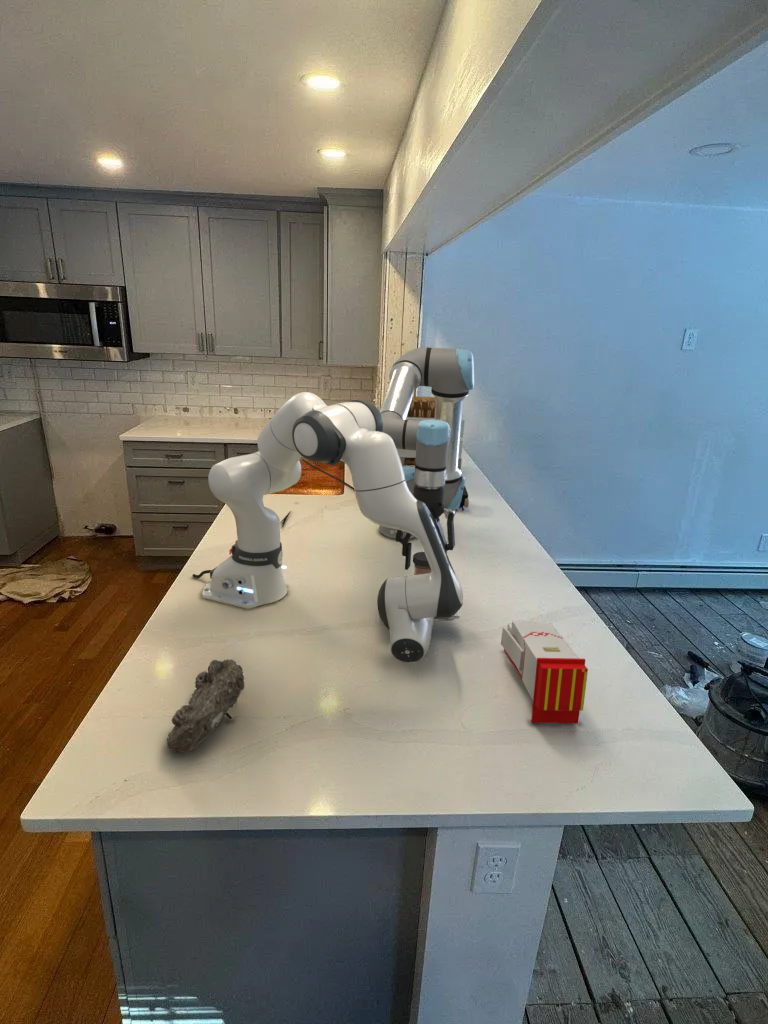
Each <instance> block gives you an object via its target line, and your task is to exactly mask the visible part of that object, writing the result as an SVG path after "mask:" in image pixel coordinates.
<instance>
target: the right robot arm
mask: <svg viewBox="0 0 768 1024" xmlns="http://www.w3.org/2000/svg"><path fill="white" fill-rule="evenodd" d="M474 363H475V361H474V355H473V352H472V351H470V350H468V349H461V348H457V347H456V348H453V347H452V348H451V347H450V348H449V347H428V346H421V347H416V348H412V349H411V350H409V351H407V352H405V353H404V354H402V355H401V356H400V357H399V358H397V359H396V360H395V362H394V363H393V364H392V366H391V368H390V371H389V375H388V378H389V384H388V386H387V389H386V391H385V394H384V396H383V399H382V403H381V404H380V408H379V409H378V410H379V412H380V413H381V416H382V419H383V430H382V432H383V433H386V434H388V435H389V436H390V437H391V438H392V439H393V441H394V444H395V446H396V448H397V449H405V450H416V463H415V466H404V467H403V470H404V475H405V479H406V483H407V486H408V488H409V490H410V492H411V493H412V495H413V496H414V497H415V498H416V499H417V500H418V501H421V502H424V503H425V504H426V506H427V507H428V509H429V511H430V513H431V515H432V517H433V520H434V522H435V525H436V527H437V529H438V532H439V535H440V537H441V540H442V542H443V545H444V548H445V550H446V553H447V554H448V551H453V550H454V548H455V547H456V538H455V537H456V536H455V521H454V520H455V519H454V518H455V515H456V509H457V510H458V509H460V508H459V506H460V502H461V499H462V494H463V489H464V486H466V485H465V484H466V477H465V476H463V474H462V469H461V470H460V469H459V468H458V456H459V444H460V439H461V438H460V432H461V419H463V408H464V407H463V406H464V400H465V398H467V397H468V396H469V394H470V393H469V392H470V391H472V390H473V389H474V388H475V364H474ZM418 387H430V388H431V391H430V392H431V395H432V397H435V398H436V403H435V420H423V421H413V420H406V417H407V414H408V411H409V407H410V404H411V401H412V397H413V396H414V394H415V390H417V388H418ZM302 462H304V463H305V464H307V465H308V466H310V467H312V468H313V469H315V470H317V471H319V472H321V473H323V474H325V475H327V476H329V477H331V478H332V479H335V480H337V481H338V482H340V483H341V484H344V485H345V486H347V487H349V488H350V489H352V490H353V491H354V486H353V485H350V484H349V483H347V482H345V481H344V480H342V479H341V478H338V477H336V476H334V475H332V474H330V473H328V472H326V471H325V470H322V469H320V468H318V467H316V466H315V465H313V464H311V463H310V462H308V460H306V459H305V458H302ZM443 514H444V518H445V519H446V533H447V539H446V536H445V532H444V529H443V526H442V523H441V519H440V517H441V516H442V515H443ZM378 533H379V534H380V535H381V536H382V537H385V538H387V539H389V540H395V542H396V543H400V544H401V556H402V557H404V570H406V571H408V570H409V569H410V567H411V562H412V547H413V545H412V544H413V543H412V542H410V540H415V539H417V538H416V537H415V536H414V535H412V534H410V533H408V532H405V531H402V530H398V529H393V528H388V527H383V526H380V525H379V527H378Z"/></svg>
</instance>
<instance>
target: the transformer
mask: <svg viewBox="0 0 768 1024" xmlns="http://www.w3.org/2000/svg"><path fill="white" fill-rule="evenodd" d="M435 403H436V398H435V397H434V396H415V395H413V397H412V401H411V404H410V407H409V411H408V414H407V417H406V420H413V421H423V420H435ZM464 429H465V419H464V418H462V419H461V432H460V444H459V456H458V468H459V469H460V470H461V471H462V461H463V460H462V453H463V442H464V441H463V440H462V439H463V438H464V431H465V430H464ZM397 451H398V454H399V457H400V460H401V463H402V467H405V466H406V467H415V463H416V450H405V449H397Z"/></svg>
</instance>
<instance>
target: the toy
mask: <svg viewBox="0 0 768 1024" xmlns="http://www.w3.org/2000/svg"><path fill="white" fill-rule="evenodd" d="M500 645H501V646H502V648H503V652H504V654H505V655H506V657H507V658H508V660H509V661H510V663H511V664H512V666H513V668H514V669H515V671H516V672H517V674H518V676H519V677H520V679H521V680H522V683H523V685H524V686H525V688H526V690H527V692H528V694H529V696H530V697H531V699H532V708H531V719H530V722H531V723H532V724H579V719H580V712H583V711H584V706H585V697H586V689H587V680H588V671H589V669H588V667H587V666H586V659H585V658H580V657H579V656H578V655H577V654H576V652H575V651H574V650H573V648H572V647H571V646H570V645H569V644H568V642H567V641H566V640H565V638H564V637H563V636H562V634H561V633H560V632H559V631H558V630H557V628H556V627H555V626H554V624H553V623H552V622H551V621H549V620H548V621H545V620H540V621H539V620H511V622H508V623H507V626H502V632H501V638H500Z"/></svg>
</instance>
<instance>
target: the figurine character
mask: <svg viewBox="0 0 768 1024" xmlns="http://www.w3.org/2000/svg"><path fill="white" fill-rule="evenodd" d="M469 505H470V500H469V492H468V490H467V488H466V485H464V489H463V494H462V499H461V502H460V506H459V508H458V509H461V511H462V512H464V511H465V508H469ZM458 509H456V510H455V512H457V511H458Z"/></svg>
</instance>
